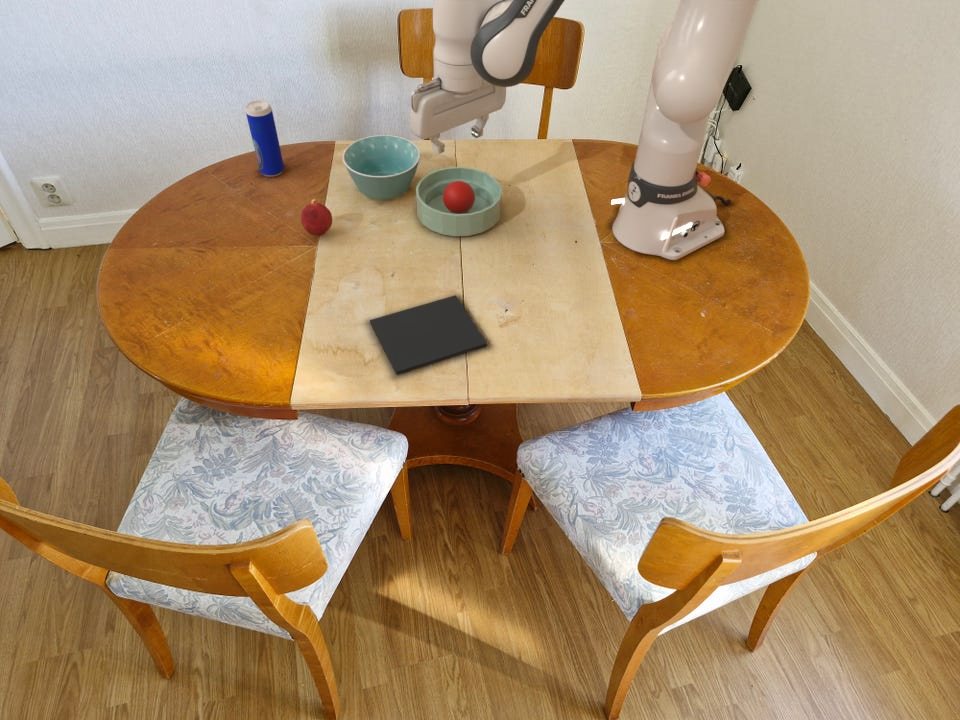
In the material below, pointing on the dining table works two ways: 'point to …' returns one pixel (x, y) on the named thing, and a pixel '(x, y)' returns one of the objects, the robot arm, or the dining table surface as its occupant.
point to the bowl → (382, 165)
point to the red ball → (458, 197)
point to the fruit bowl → (455, 224)
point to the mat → (427, 334)
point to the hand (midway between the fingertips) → (458, 143)
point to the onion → (316, 218)
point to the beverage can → (265, 138)
